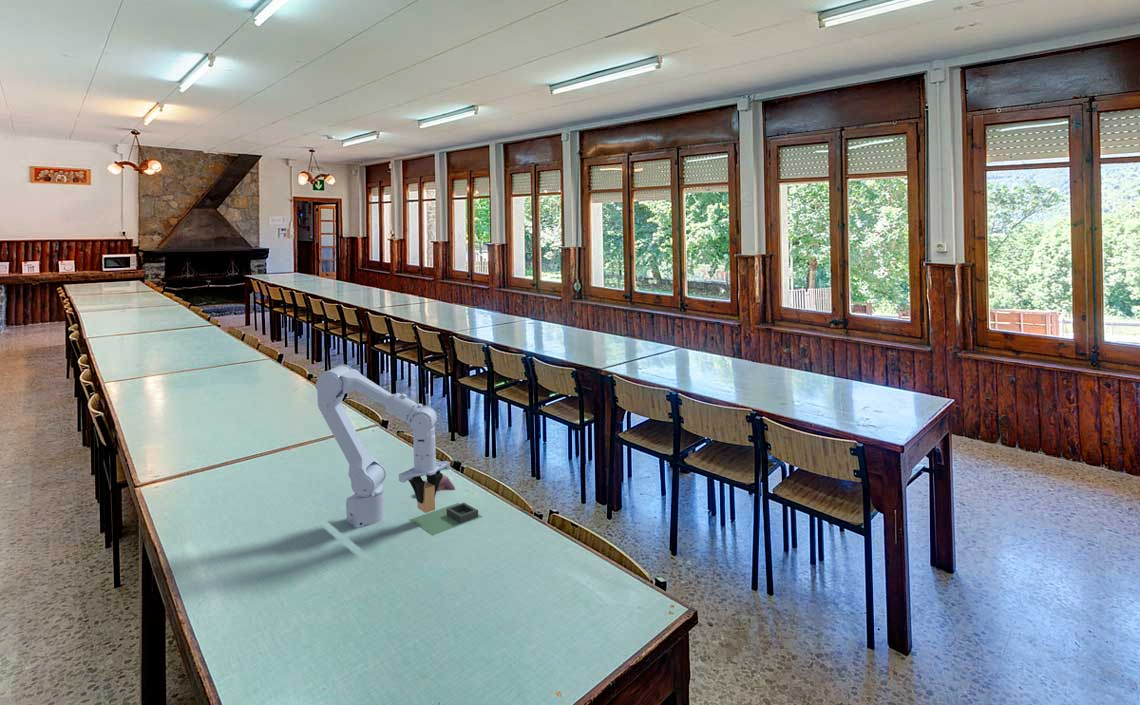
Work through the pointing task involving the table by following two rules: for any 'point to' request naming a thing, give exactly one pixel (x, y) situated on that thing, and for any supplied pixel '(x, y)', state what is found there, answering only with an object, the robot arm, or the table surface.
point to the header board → (446, 518)
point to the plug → (428, 498)
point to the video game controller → (445, 484)
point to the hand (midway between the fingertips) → (425, 500)
